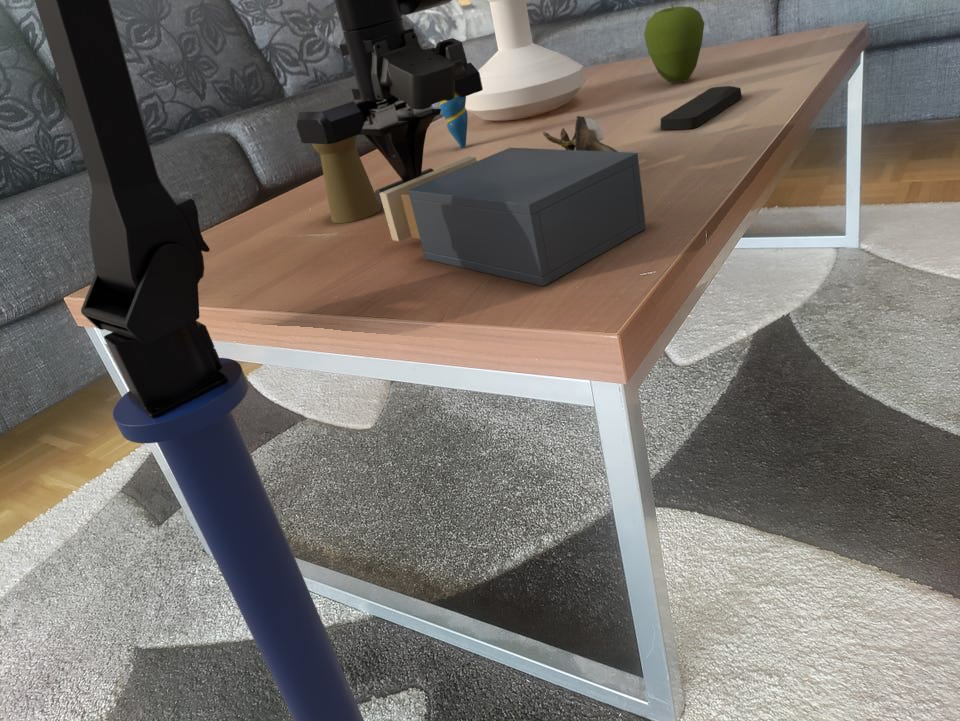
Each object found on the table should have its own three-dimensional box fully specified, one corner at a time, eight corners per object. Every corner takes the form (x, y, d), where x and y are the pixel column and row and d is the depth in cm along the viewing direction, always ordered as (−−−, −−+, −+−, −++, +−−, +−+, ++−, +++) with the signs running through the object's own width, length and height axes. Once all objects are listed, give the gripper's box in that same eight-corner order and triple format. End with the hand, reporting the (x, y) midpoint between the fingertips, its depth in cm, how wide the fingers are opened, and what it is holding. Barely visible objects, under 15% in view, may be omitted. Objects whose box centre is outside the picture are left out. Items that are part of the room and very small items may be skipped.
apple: (639, 90, 119) (631, 12, 114) (670, 77, 123) (664, 1, 118) (686, 88, 113) (680, 5, 107) (717, 74, 117) (713, -7, 112)
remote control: (695, 133, 91) (744, 96, 100) (694, 118, 90) (743, 82, 99) (658, 134, 94) (708, 98, 103) (656, 120, 93) (707, 85, 102)
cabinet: (425, 259, 70) (407, 190, 67) (522, 212, 76) (510, 147, 73) (543, 286, 58) (528, 204, 55) (646, 228, 65) (637, 152, 62)
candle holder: (563, 121, 111) (540, -24, 102) (446, 134, 120) (416, 4, 111) (604, 89, 126) (588, -38, 117) (497, 104, 135) (474, -13, 126)
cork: (348, 225, 85) (318, 127, 80) (322, 220, 90) (292, 127, 85) (390, 207, 88) (364, 111, 83) (363, 203, 93) (337, 112, 88)
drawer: (366, 234, 77) (353, 189, 75) (450, 197, 83) (440, 154, 81) (488, 260, 63) (476, 205, 61) (579, 213, 69) (571, 162, 67)
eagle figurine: (532, 167, 86) (565, 164, 78) (550, 105, 85) (585, 95, 77) (589, 187, 89) (627, 186, 80) (607, 127, 88) (647, 120, 79)
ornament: (487, 142, 109) (464, 31, 102) (462, 153, 106) (437, 40, 99) (462, 142, 112) (438, 35, 105) (437, 153, 109) (412, 43, 102)
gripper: (330, 42, 59) (383, 228, 67) (502, -6, 69) (533, 162, 76) (269, 51, 68) (322, 216, 75) (431, 7, 77) (464, 158, 84)
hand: (414, 187), depth 77 cm, fingers closed, pressing on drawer
